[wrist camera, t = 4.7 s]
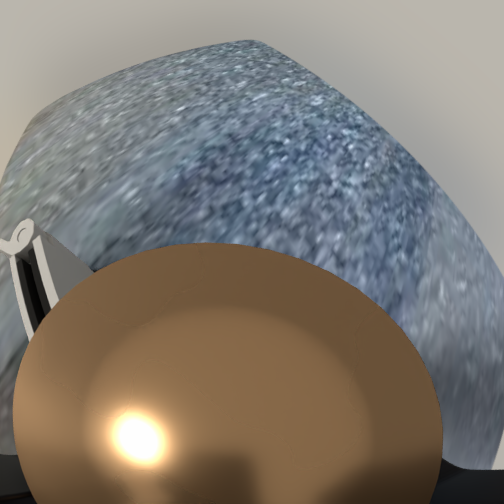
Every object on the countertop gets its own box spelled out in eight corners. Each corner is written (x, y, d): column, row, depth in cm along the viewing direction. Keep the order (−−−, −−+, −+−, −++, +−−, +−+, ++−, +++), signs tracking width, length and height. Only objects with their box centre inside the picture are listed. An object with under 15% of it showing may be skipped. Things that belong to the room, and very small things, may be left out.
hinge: (47, 282, 24) (-14, 239, 15) (77, 247, 26) (23, 193, 17) (119, 382, 20) (43, 374, 11) (157, 339, 22) (96, 309, 13)
